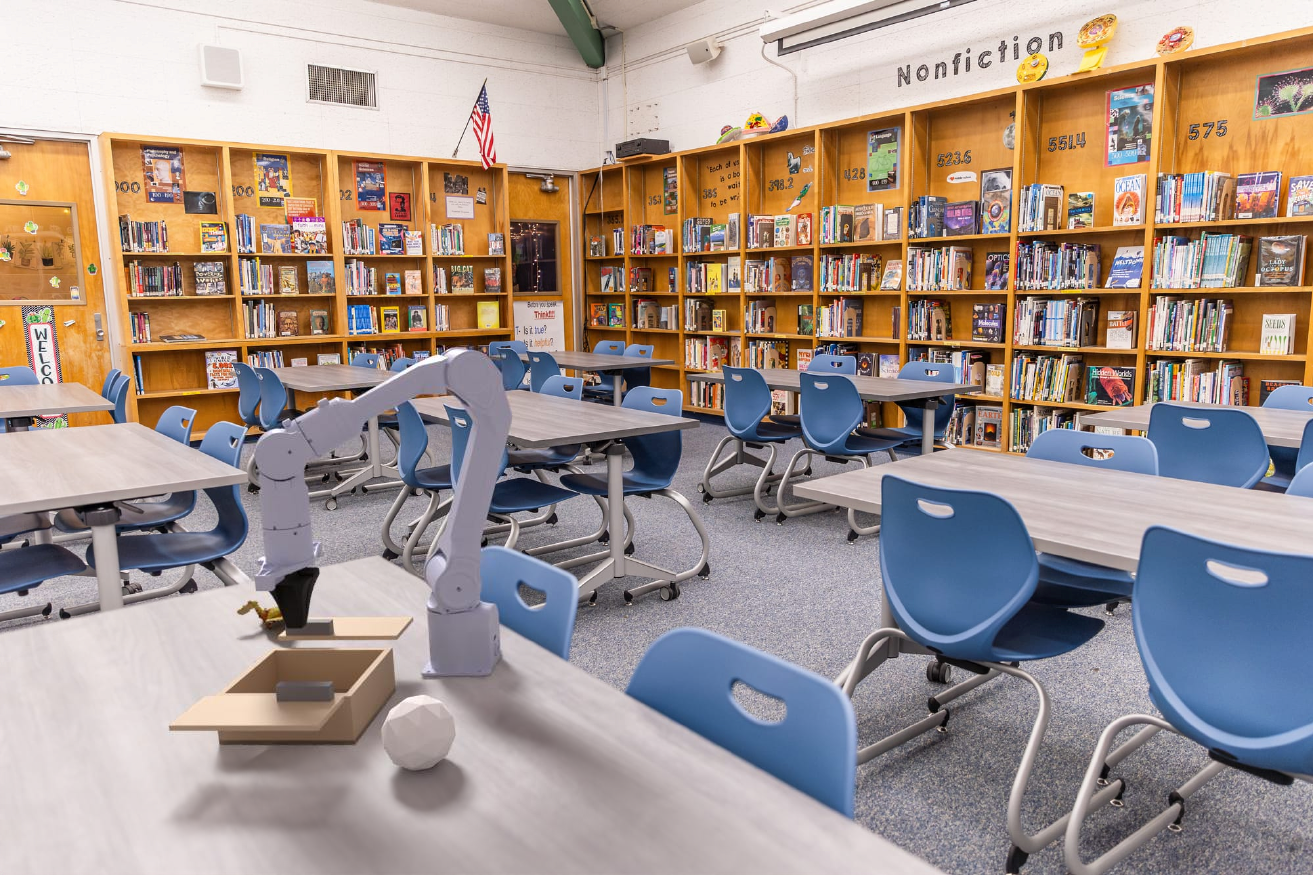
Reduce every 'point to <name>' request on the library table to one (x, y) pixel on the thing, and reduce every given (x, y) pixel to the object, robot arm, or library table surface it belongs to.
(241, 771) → the library table surface
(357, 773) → the library table surface
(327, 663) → the carton
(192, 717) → the left flap
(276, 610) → the yellow dragon figurine
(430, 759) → the geometric ball
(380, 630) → the right flap
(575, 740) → the library table surface
